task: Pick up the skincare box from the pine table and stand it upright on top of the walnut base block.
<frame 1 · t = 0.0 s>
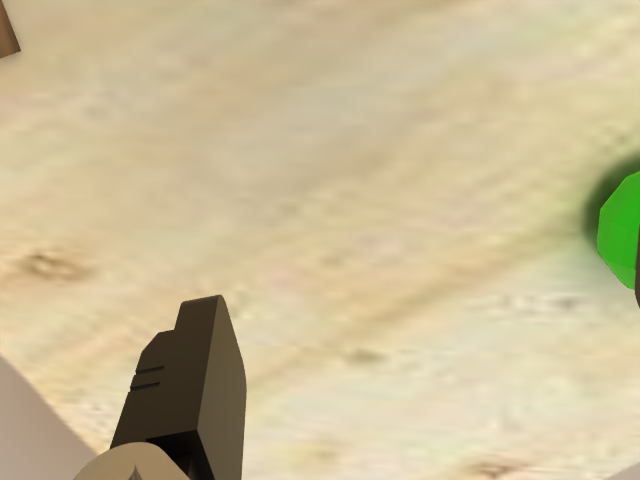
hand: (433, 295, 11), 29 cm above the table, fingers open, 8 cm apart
plastic bottle: (638, 207, 44), on the table
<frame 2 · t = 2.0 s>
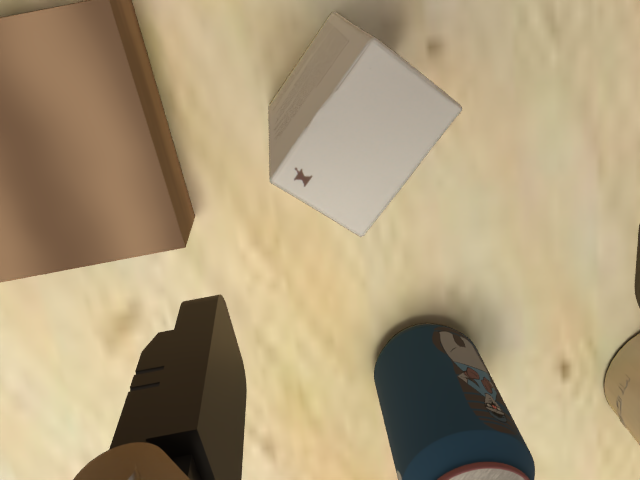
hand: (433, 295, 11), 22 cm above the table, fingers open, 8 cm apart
skincare box: (332, 81, 31), on the table
walnut base: (53, 135, 31), on the table
soda can: (421, 356, 39), on the table
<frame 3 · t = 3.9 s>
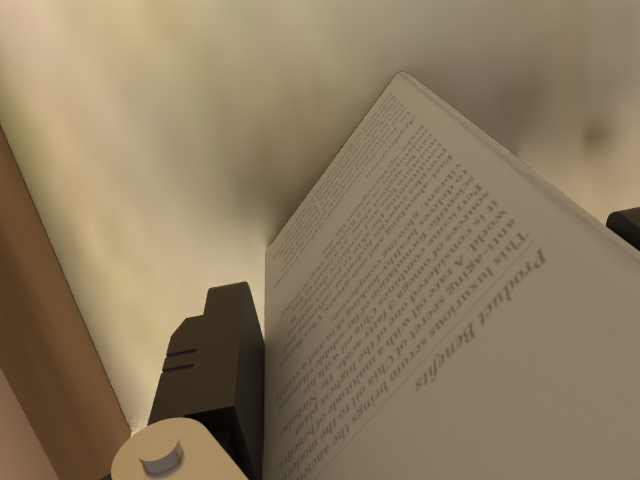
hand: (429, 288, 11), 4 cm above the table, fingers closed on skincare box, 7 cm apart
skincare box: (390, 201, 16), on the table, touching gripper
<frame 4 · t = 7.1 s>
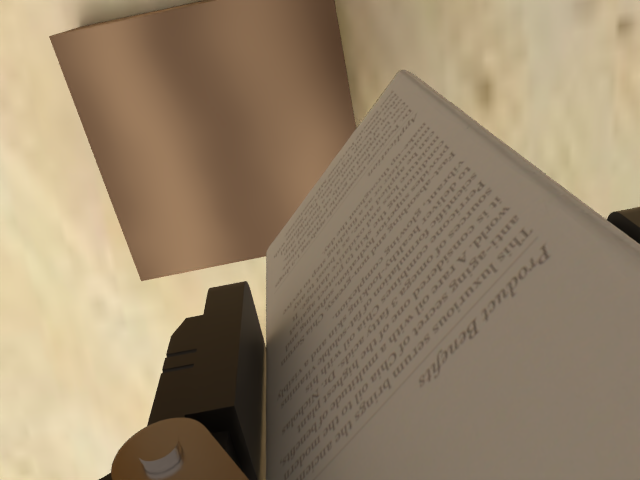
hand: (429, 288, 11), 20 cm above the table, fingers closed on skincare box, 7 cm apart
skincare box: (392, 199, 16), point 16 cm above the table, touching gripper
walnut base: (232, 123, 30), on the table
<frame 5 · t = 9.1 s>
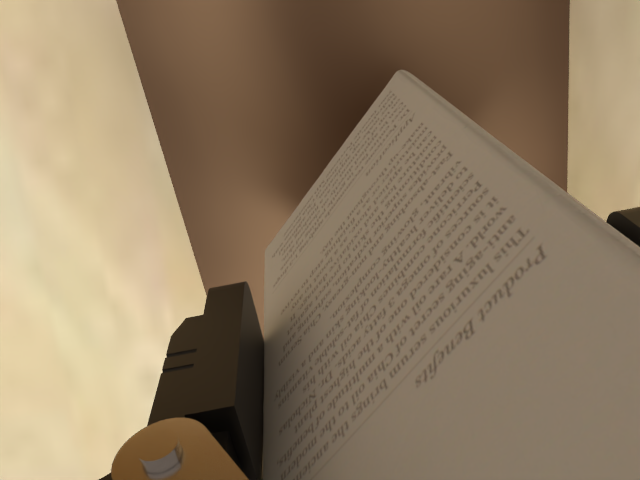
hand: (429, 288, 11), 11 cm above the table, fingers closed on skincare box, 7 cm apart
skincare box: (390, 199, 16), point 6 cm above the table, touching gripper
walnut base: (356, 135, 21), on the table
when the fingers open (9 cm above the table, at t = 10.5 s): skincare box stays where it is, resting on walnut base.
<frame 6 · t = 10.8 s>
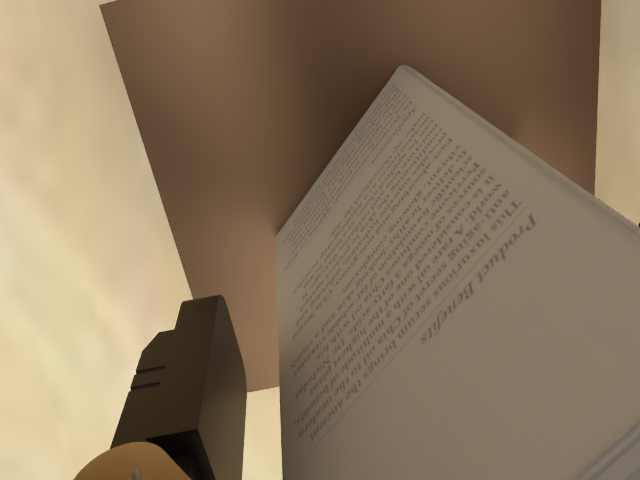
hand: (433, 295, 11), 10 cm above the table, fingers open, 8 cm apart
skincare box: (393, 189, 16), point 4 cm above the table, touching walnut base
walnut base: (363, 149, 20), on the table
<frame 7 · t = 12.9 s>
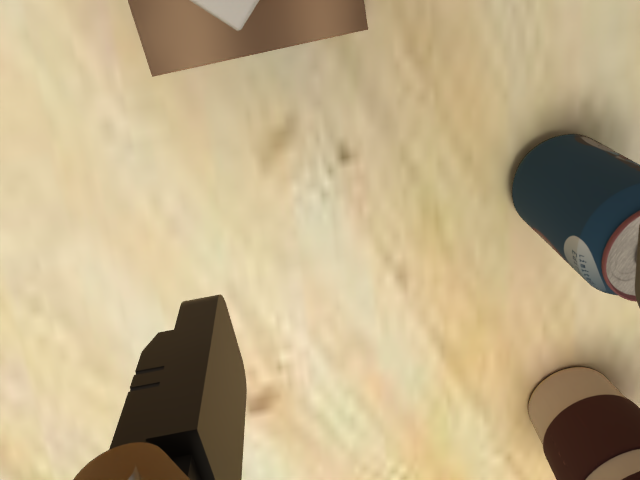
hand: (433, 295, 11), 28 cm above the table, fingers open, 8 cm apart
coffee cup: (565, 396, 51), on the table
soda can: (551, 176, 41), on the table
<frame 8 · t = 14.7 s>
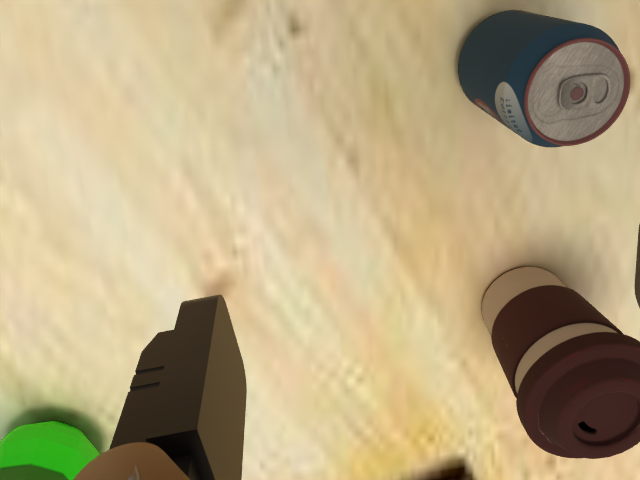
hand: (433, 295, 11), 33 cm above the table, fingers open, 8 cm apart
coffee cup: (519, 299, 52), on the table
plastic bottle: (57, 441, 55), on the table
soda can: (499, 59, 42), on the table
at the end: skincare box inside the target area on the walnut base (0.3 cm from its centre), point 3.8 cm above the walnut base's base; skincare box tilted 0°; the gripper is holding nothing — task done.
